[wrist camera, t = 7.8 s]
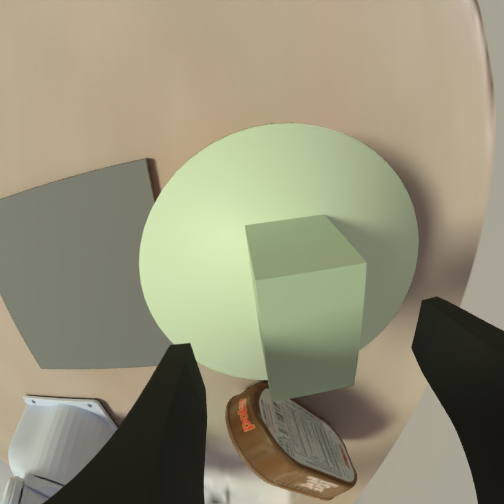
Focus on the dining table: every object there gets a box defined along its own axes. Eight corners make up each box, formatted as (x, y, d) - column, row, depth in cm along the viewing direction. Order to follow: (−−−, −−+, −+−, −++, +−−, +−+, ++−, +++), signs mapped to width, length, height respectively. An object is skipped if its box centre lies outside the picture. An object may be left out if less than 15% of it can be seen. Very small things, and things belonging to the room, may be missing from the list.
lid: (181, 381, 16) (175, 456, 12) (113, 151, 11) (53, 178, 6) (394, 344, 16) (432, 405, 12) (413, 118, 11) (493, 132, 7)
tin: (220, 378, 23) (224, 474, 15) (252, 358, 22) (266, 458, 15) (320, 440, 29) (338, 507, 21) (345, 427, 28) (368, 494, 20)
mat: (42, 365, 21) (41, 368, 21) (-28, 210, 15) (-31, 211, 15) (197, 358, 22) (197, 362, 21) (147, 158, 16) (145, 159, 15)
